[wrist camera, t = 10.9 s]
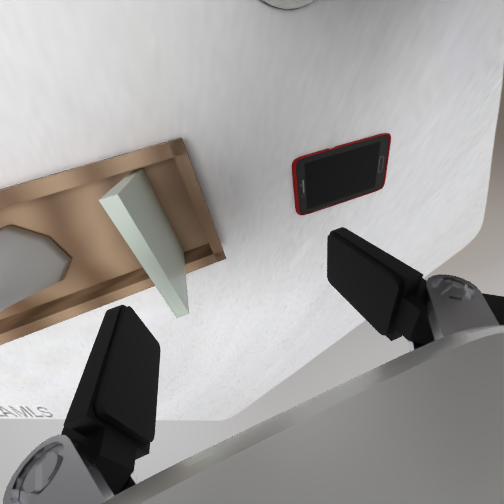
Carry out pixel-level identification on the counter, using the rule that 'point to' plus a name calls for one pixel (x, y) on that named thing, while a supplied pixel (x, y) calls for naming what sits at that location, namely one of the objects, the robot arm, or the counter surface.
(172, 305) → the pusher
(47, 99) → the counter surface
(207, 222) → the wooden rimmed tray
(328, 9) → the counter surface
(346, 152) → the cell phone
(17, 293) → the flask
